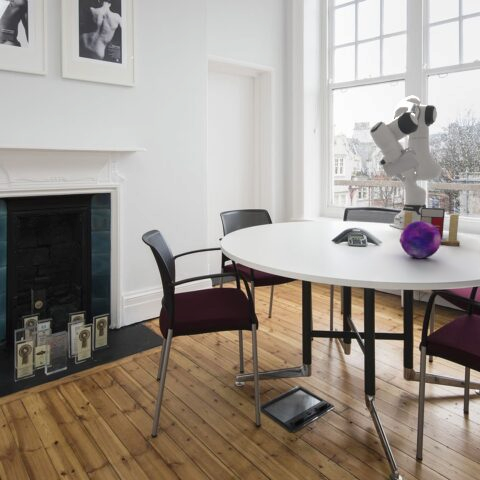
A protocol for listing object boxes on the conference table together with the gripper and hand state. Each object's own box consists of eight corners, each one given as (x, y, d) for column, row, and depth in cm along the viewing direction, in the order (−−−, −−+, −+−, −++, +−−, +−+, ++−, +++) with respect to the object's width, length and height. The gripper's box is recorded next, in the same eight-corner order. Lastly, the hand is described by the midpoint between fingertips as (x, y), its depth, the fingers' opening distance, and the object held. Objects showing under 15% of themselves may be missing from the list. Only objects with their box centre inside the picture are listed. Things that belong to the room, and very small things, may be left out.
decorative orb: (413, 262, 169) (416, 224, 166) (392, 255, 183) (394, 219, 181) (447, 261, 172) (450, 223, 170) (423, 253, 187) (426, 218, 184)
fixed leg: (446, 241, 206) (448, 214, 204) (446, 240, 210) (448, 213, 208) (458, 242, 204) (460, 215, 202) (458, 241, 208) (460, 214, 206)
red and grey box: (419, 236, 230) (421, 208, 227) (419, 235, 233) (422, 207, 231) (442, 238, 225) (444, 209, 222) (442, 237, 228) (445, 208, 226)
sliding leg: (401, 238, 214) (402, 212, 212) (402, 236, 218) (403, 211, 216) (412, 239, 212) (414, 212, 210) (412, 237, 216) (414, 211, 214)
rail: (399, 242, 214) (399, 238, 213) (401, 240, 220) (401, 236, 220) (459, 246, 203) (459, 243, 203) (458, 243, 209) (459, 240, 209)
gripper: (415, 142, 197) (432, 167, 198) (384, 157, 216) (400, 180, 217) (407, 149, 194) (424, 174, 196) (376, 164, 213) (392, 187, 215)
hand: (411, 177), depth 207 cm, fingers open, 8 cm apart
